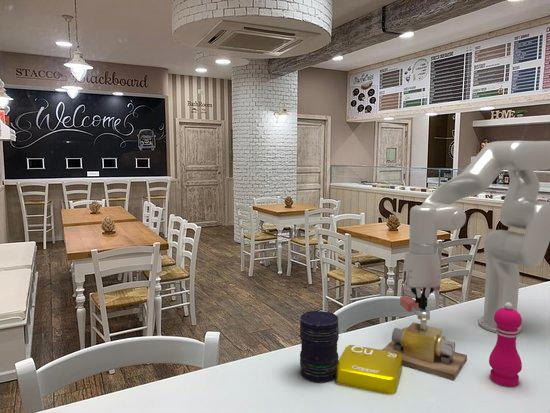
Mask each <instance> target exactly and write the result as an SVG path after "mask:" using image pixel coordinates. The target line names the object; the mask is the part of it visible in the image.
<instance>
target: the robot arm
mask: <svg viewBox="0 0 550 413" xmlns="http://www.w3.org/2000/svg"><path fill="white" fill-rule="evenodd" d="M505 170H506V171H507V174H508V176H509V184H508V188H507V191H506V194H505V196H504V200H503V202H502V205H501V208H500V212H499V220H500V224H501V223H502V225H504V226H506V227H509V228H513V229H516V230H523V231H524V233H520V232H517V231H512V230H506V229H505V230H504V229H495V230H492V231H489V233H488V234H487V235H486V236H485V238H484V241H483V251H484V257H485V284H484V285H485V286H484V287H485V288H484V303H483V308H484V309H483V316H481V317H479V318H478V320H477V322H478V325H479V327H481V328H483V329H484V330H486V331H489V332H494V333H496V326H497V324H496V323H495V321H494V315H495V312H496V311H497V310H498V309H500V308H505V306H504V305H505V303H507V302H509V303H511V304H512V305H513V308H512V309H514V310H516V311H517V312H518V307H519V306H518V303H519V287H520V271H519V268H518V266H517V265H519V266H521V267H522V266H523V267H526V268H527V267H528V268H532V267H537V266H538V265H540V263H541V262H543V259H544V257H545V255H546V253H547V249H548V248H549V245H550V203H549V202H547V201H544V200H537V198H538V195H539V193H540V191H539V190H540V186H541V185H540V181H539V178H538V175H537V174H536V173H535V171H540V170H541V171H545V170H547V171H548V170H550V141H549V140H538V141H537V140H502V141H501V140H500V141H499V140H496V141H490V142H489V143H487V144H486V145H485V146H483V148H481V149H480V151H479V152H478V153H477V154H476V155H475V157H474V158H473V159H472V161H471V162H470V163H469V164H468V165H467V166H466V167H465V169H463V171H462V172H461V173H460V174H458V175H457V176H454V177H452V178H451V179H449V180H447V181H445V182H444V183H442V184H440V185H439V186H437V187H436V188H435V189H433V190H432V192H431V193H429V195H428V196H427V197H426V199H424V201H423V202H422V204H421V205H414V206H412V207H411V208H410V210H409V237H408V238H409V241H408V242H409V246H408V251H406V252H405V256H404V260H403V261H404V262H403V265H402V266H403V269H402V277H401V278H402V282H403V286H402V289H403V291H404V292H406V291H407V292H411V293H413V295H414V296H415V297H414V298H415V299H414V300H415V301H416V302H418V303H419V308H421V309H422V310H427V307H428V299H429V297H430V295H431V294H432V293H433V292H436V291H440V290H441V283H442V267H441V260H440V254H439V252H438V250H439V249H440V250H441V249H442V243H441V244H440V243H438V231H448V232H449V231H450V232H451V231H452V232H453V231H458V230H459V229H461V228H462V227H463V226H465V224H466V221H467V215H466V212H465V211H464V209H463V208H462V207H460V206H459V205H458V206H457V205H456V204H453V203H455V202H457V201H459V200H462V199H466V198H469V197H473V196H477V195H480V194H482V193H484V192H486V191H487V190H488V189H489V187H490V186H491V185H492V183H493V182H494V181H495V180H496V179H497V178H498V176H499V175H500V174H501V173H502V171H505ZM421 289H422V290H421ZM522 329H523V326H522V325H521V326H520V327H519V328H518V330H519V332H518V334H519V333H520V332H522Z"/></svg>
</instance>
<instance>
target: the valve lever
mask: <svg viewBox="0 0 550 413" xmlns="http://www.w3.org/2000/svg"><path fill="white" fill-rule="evenodd" d="M399 298H400V299H399V305H400V306H401V307H402V308H403V309H405V311H407V312H410V313H411V312H413V314H414V315H416V316H417V319H418V320H427V321H429V320H430V319H431V312H430V310H427V309H426V310H422V309H421V308H419V303H418V302H416V301H415V299H414V298H413V297H411V296H400V297H399Z"/></svg>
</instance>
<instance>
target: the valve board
mask: <svg viewBox="0 0 550 413" xmlns="http://www.w3.org/2000/svg"><path fill="white" fill-rule="evenodd" d="M394 343H395V342H393V341H392V340H391V341H390V342H389V343H388V344H387V345H386V346H384V347H383V348H382V349H381V350H386V351H392V352H397V353H400V354H401V355H402V367H406V368H410V369H414V370H417V371H421V372H424V373H427V374H431V375H434V376H437V377H441V378H445V379H447V380H451V381H455V379H457V376H458V375H459V373H460V372H461V370H462V369H463V367H464V365H465V364H466V362H467V360H468V357H467V356H468V355H467V354H465V353H460V352H457V351H455V353H454V356H453V360H452V361H451V362H450V364H445V363H442V362H441V358H440V357H438V358H437V359H436V360H435V362H434V363H431V362H427V361H423V360H420V359H416V358H413V357H409V356H405V355H404V348H403V349H402V350H401V351H398V350H394Z"/></svg>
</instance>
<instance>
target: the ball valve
mask: <svg viewBox="0 0 550 413" xmlns="http://www.w3.org/2000/svg"><path fill="white" fill-rule="evenodd" d="M419 320H420V319H419ZM427 321H428V320H420V323H417V322H412V323H411V324H410V325H408V326H406V327H404V328H397V327H394V328H393V330H392V333H391V341H393V342H395V343H394V350H398V351H401V350H402V349H403V348H404V355H405V356H409V357H413V358H416V359H420V360H423V361H427V362H431V363H434V362H435V360H436V359H437V358H438V357H440V358H441V362H442V363H445V364H450V362H451V361H452V360H453V356H454V353H455V352H456V341H453V340H448V339H446V337H445V336H444V335H443V329H442V328H440V327H436V326H431V325H427V323H428V322H427Z"/></svg>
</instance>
